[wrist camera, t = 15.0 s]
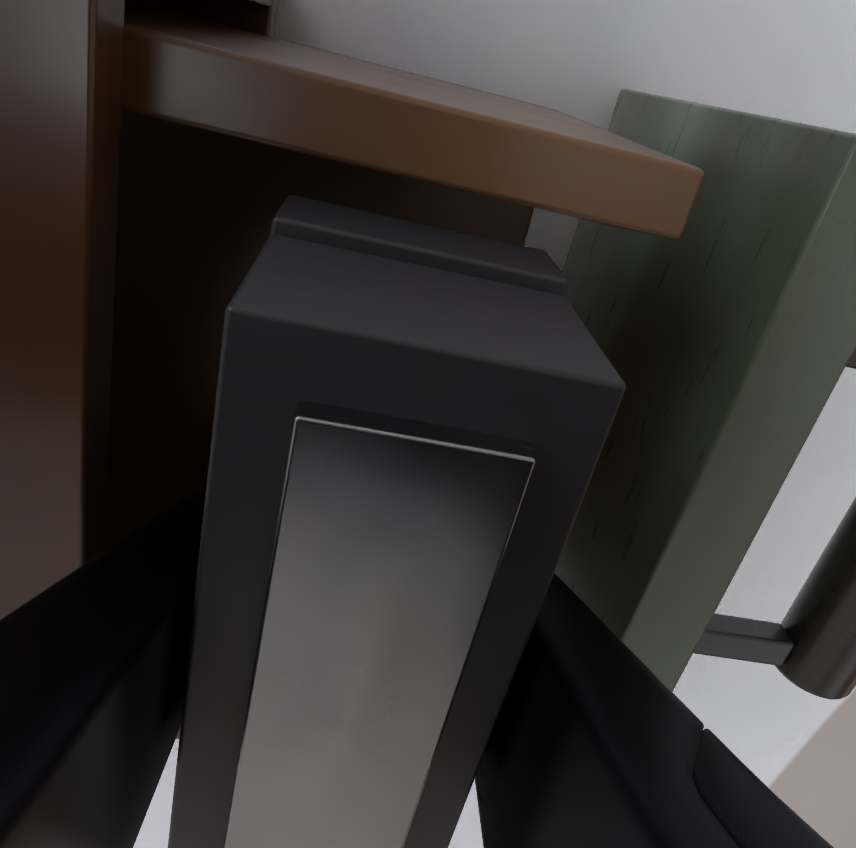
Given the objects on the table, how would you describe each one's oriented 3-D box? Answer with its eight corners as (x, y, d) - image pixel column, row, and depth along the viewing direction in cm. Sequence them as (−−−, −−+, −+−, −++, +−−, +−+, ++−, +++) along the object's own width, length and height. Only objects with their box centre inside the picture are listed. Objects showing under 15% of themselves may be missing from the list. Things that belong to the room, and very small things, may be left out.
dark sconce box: (287, 192, 8) (216, 298, 5) (548, 250, 8) (651, 384, 5) (221, 680, 11) (152, 940, 8) (409, 702, 12) (418, 959, 8)
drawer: (878, 156, 16) (1330, 260, 8) (684, 556, 21) (854, 852, 14) (5, -75, 14) (-512, -233, 6) (19, 447, 19) (-247, 736, 11)
